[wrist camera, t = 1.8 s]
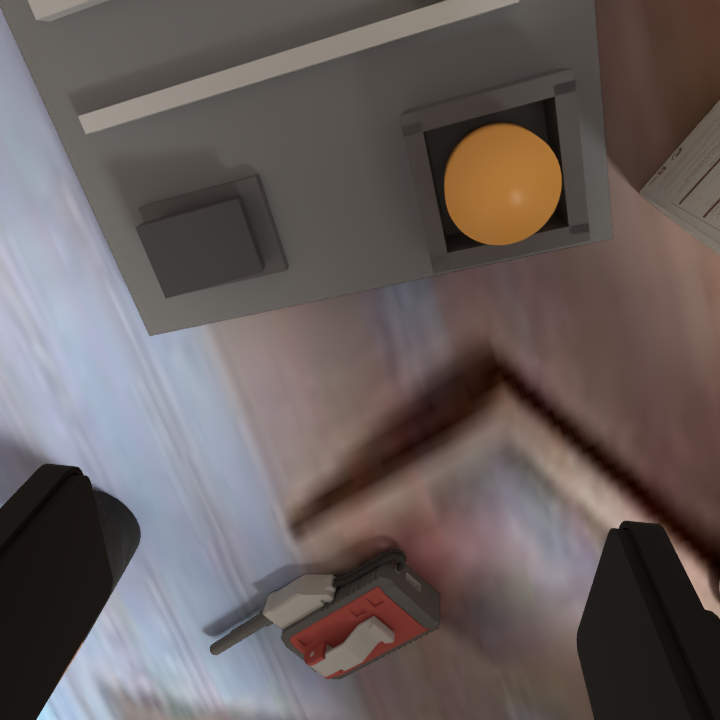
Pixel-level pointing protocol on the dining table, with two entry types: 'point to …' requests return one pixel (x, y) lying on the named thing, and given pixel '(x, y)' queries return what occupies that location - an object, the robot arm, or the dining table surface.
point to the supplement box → (692, 183)
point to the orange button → (501, 183)
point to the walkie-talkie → (348, 615)
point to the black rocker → (202, 246)
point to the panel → (312, 130)
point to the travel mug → (116, 536)
